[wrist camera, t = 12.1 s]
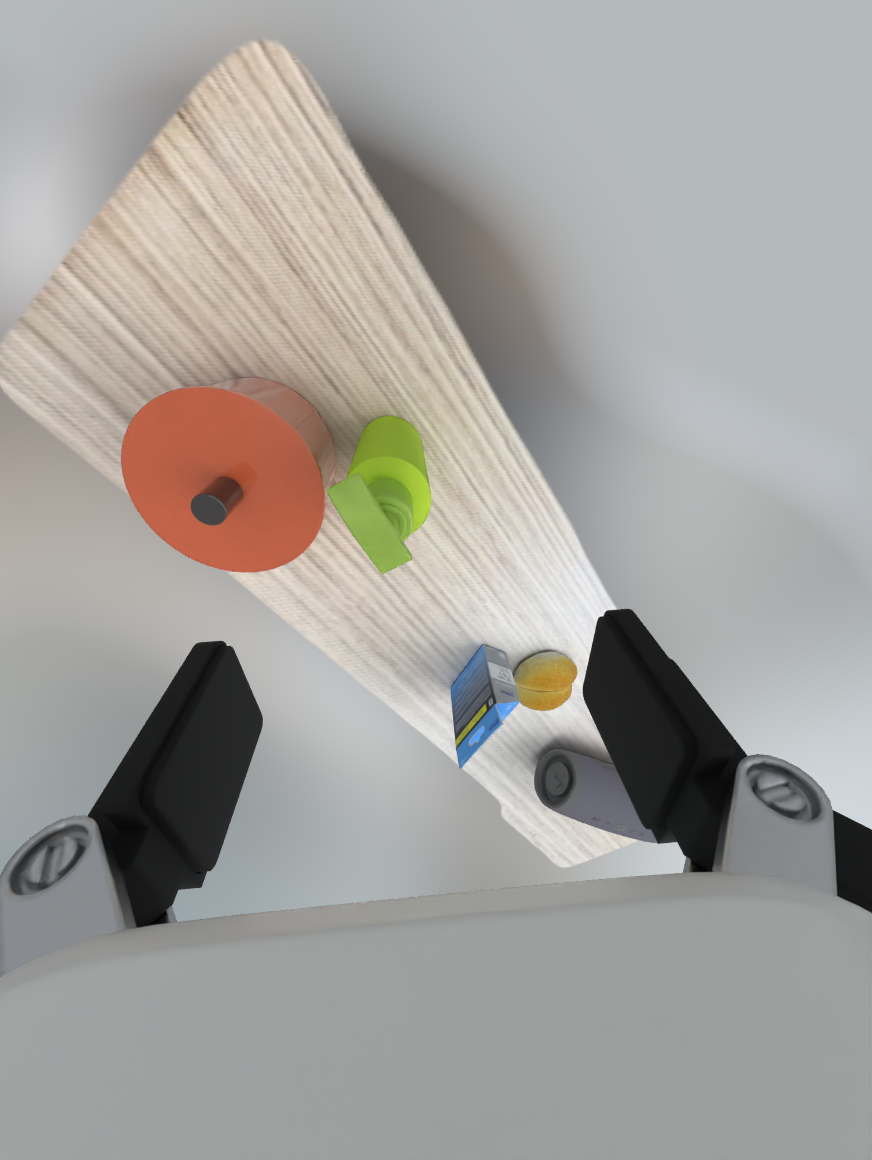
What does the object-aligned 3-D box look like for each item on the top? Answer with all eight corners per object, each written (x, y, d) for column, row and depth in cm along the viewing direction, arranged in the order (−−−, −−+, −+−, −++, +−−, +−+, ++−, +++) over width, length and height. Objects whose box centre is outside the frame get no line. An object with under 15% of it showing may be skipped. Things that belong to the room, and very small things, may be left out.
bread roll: (578, 648, 54) (590, 670, 50) (562, 696, 59) (572, 719, 55) (517, 648, 53) (525, 670, 50) (505, 696, 58) (512, 719, 54)
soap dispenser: (396, 391, 36) (393, 455, 19) (433, 461, 39) (457, 567, 22) (340, 425, 37) (289, 512, 20) (380, 489, 40) (366, 611, 24)
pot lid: (92, 391, 26) (38, 404, 23) (305, 377, 27) (289, 387, 23) (175, 572, 34) (146, 605, 30) (341, 558, 34) (334, 589, 30)
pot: (168, 382, 34) (98, 401, 26) (321, 372, 35) (297, 387, 27) (219, 521, 41) (175, 570, 33) (346, 511, 41) (333, 557, 33)
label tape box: (472, 695, 57) (488, 778, 47) (447, 687, 56) (457, 770, 46) (507, 651, 53) (532, 732, 43) (480, 642, 52) (500, 722, 42)
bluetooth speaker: (523, 761, 66) (541, 826, 58) (562, 728, 62) (588, 792, 54) (619, 797, 74) (647, 858, 66) (659, 769, 70) (694, 830, 62)
